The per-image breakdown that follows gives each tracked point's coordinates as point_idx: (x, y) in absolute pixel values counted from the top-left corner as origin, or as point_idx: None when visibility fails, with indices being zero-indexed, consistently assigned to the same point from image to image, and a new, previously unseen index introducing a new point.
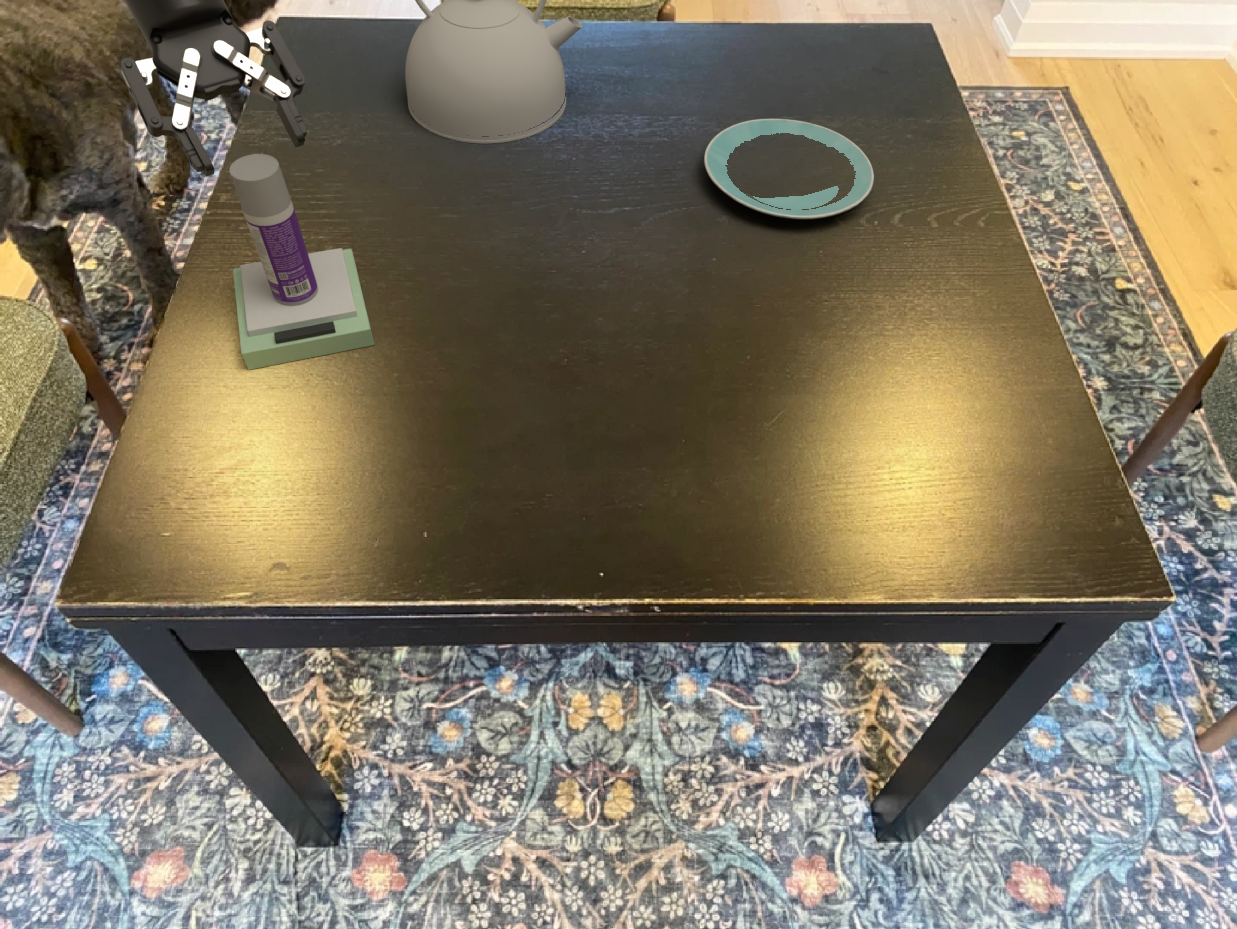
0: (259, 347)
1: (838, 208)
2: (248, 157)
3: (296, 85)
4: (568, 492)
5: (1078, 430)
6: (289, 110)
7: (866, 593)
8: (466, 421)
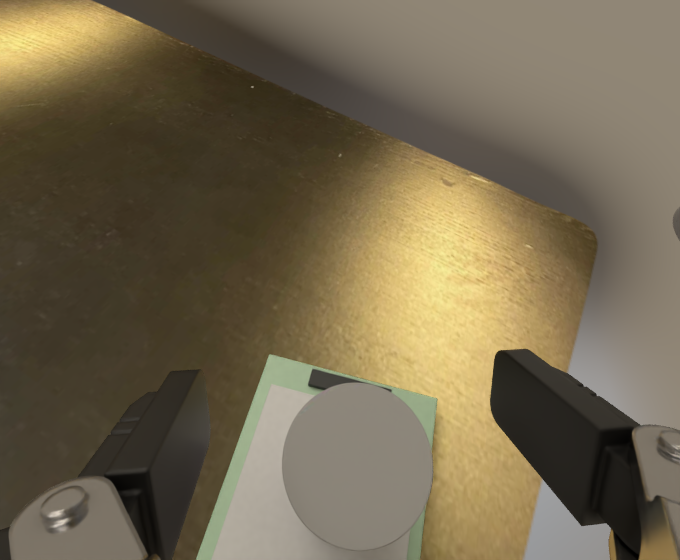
0: (412, 397)
1: None
2: (358, 530)
3: None
4: (225, 133)
5: None
6: (139, 433)
7: (131, 20)
8: (249, 220)
